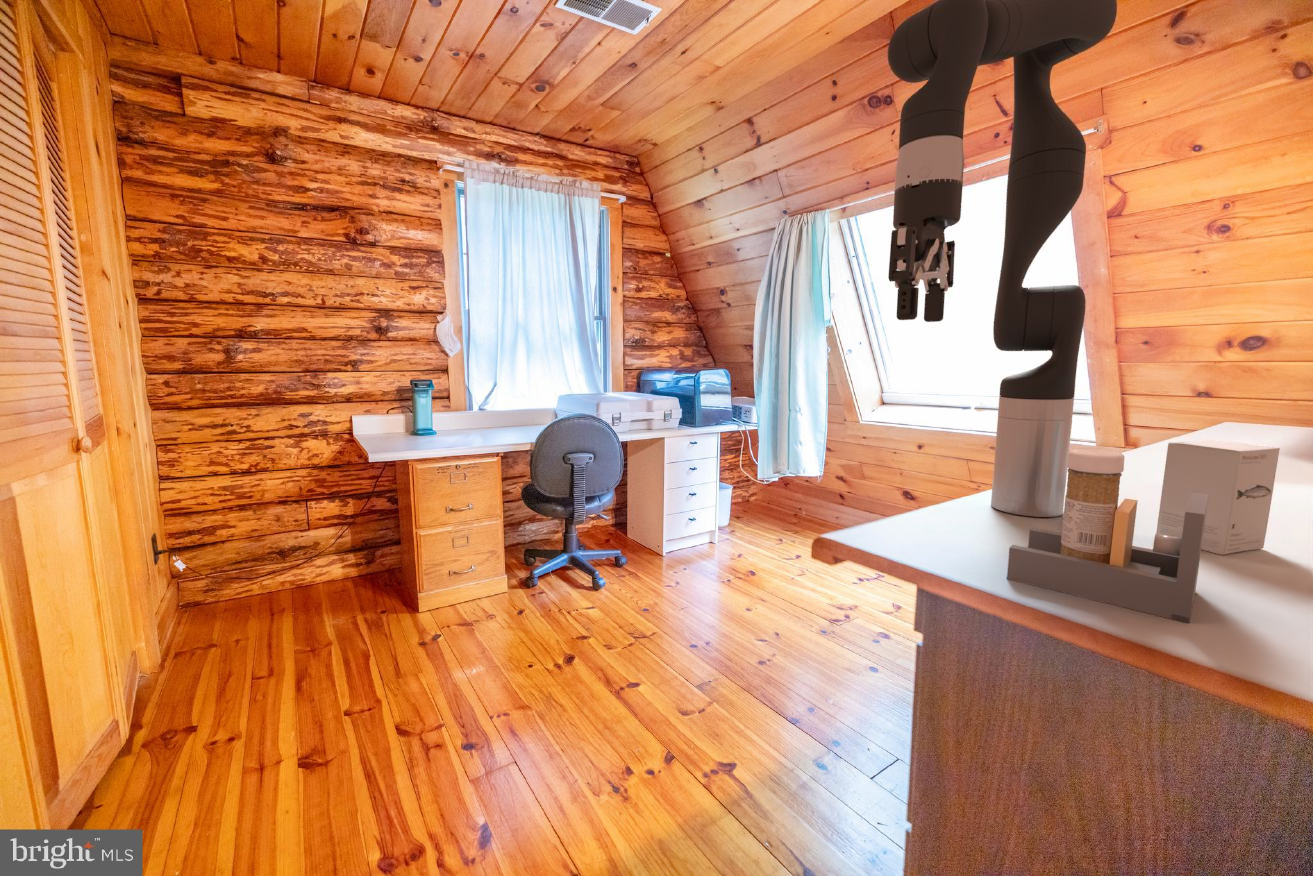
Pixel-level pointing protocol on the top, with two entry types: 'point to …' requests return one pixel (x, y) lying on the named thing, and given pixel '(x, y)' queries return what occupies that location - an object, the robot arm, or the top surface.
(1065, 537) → the sprinkles bottle
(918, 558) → the top surface
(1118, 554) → the block
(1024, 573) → the lane
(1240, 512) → the supplement box
